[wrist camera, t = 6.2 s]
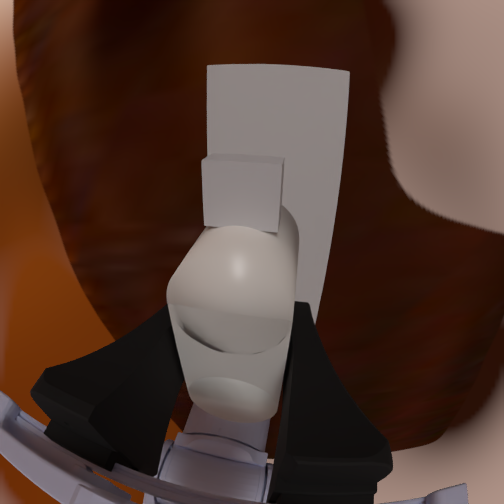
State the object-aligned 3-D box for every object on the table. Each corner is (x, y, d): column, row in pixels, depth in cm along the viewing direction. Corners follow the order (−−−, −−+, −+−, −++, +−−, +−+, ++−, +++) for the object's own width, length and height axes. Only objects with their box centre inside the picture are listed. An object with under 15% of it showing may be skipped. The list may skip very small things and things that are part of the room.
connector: (284, 354, 15) (273, 427, 11) (218, 345, 16) (194, 413, 12) (308, 149, 10) (309, 186, 6) (208, 143, 10) (149, 177, 6)
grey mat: (311, 336, 24) (311, 341, 23) (218, 324, 25) (216, 328, 24) (348, 72, 14) (349, 71, 13) (210, 66, 15) (207, 65, 14)
